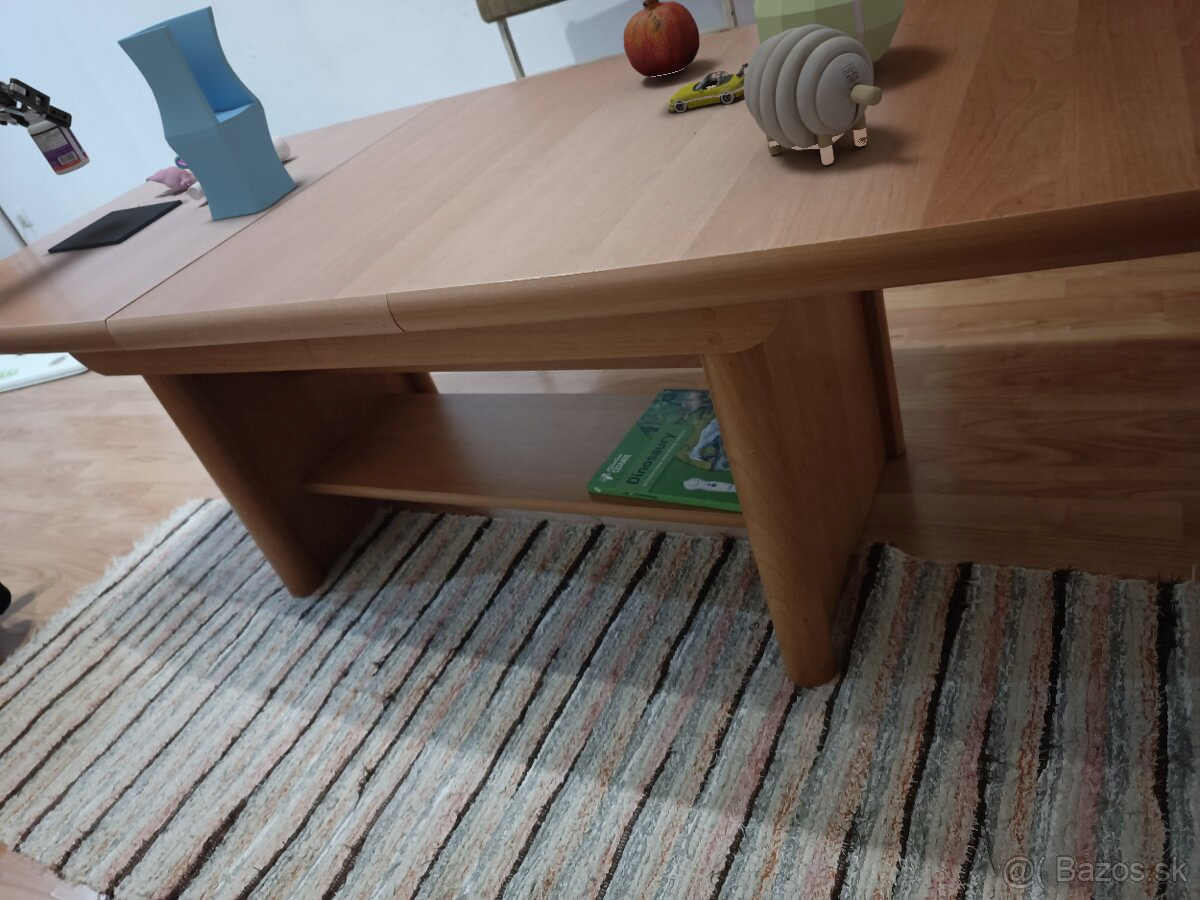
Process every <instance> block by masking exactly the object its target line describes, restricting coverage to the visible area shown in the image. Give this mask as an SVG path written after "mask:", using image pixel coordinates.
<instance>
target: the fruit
mask: <svg viewBox="0 0 1200 900" xmlns="http://www.w3.org/2000/svg"><path fill="white" fill-rule="evenodd" d="M642 6H643V9H641V10H639V11H638V12H636V13H634V14H633V15H632V16H631V18H630V19H629V20H628V21H627V23H626V25H625V27H624V30H623V36H622V37H623V49H624V53H625V55H626V57H627V59H628V61H629V64H630V66H631V67H632V68H633V69H634V70H635V71H636V72H637V73H638V74H640V75H642V76H644V77H646V76H647V78H653V79H658V78H668V77H672V76H674V75H677V74H679V73H681V72H682V71H684V70H685V69H686V68H687V67H688V66H689V65H691V64H692V62H694V60H695V59H696V56H697V55H698V52H699V49H700V32H699V27H698V25H697V23H696V20H695V18H694V17H693V15H692V14H691V12H690V10H689V9H688V8H687V7H686V6H684V5H683V4H681V3H679V2H677V1H660V0H644V1H643V2H642ZM686 66H687V67H686ZM685 67H686V68H685ZM683 68H685V69H683ZM681 69H683V70H681ZM679 70H681V71H679ZM675 71H678V72H675ZM672 72H675V73H672ZM668 73H671V74H668ZM663 74H667V75H663ZM657 75H662V76H657ZM651 76H656V77H651Z"/></svg>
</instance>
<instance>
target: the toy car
mask: <svg viewBox="0 0 1200 900" xmlns="http://www.w3.org/2000/svg"><path fill="white" fill-rule="evenodd" d="M748 64H749V62H746V63H744V64H741V67H740V70H739V72H737V73H732V74H729V73H728V72H727V71H725V70H720V71H715V72H711V73H708V74H707V75H706V76H705V77H704V78H703V79H702V80H701V81H696V82H692V83H689V84H686V85H684V86H683V87H681V88H680V89H678V90H677V91H676V92H674V94H673V95H671V97H670V98H669V100H668V102H670V103H671V104H674V103H675V104H676V103H681V102H684V101H688V100H690V99H694V98H699V97H704V96H710V95H711V96H712V95H717V94H722V93H725V94H726V93H727V92H731V91H734V90H736V89H738V88H741V87H743V86H744V80H741V79H740V78H741V77H743V76H745V73H744V72H745V69H747V66H748ZM726 74H727V75H726ZM713 75H715V76H713ZM712 85H716V87H714V88H710V89H707V88H706V87H708V86H712ZM741 99H745V97H744V89H743V90H741V91H739V92H736V93H733V94H732V95H731V94H728V95H723V96H720V97H712V98H707V99H702V100H696V101H692V102H688V103H681V104H677V105H671V104H669V103H668V102H667V104H668V105H669V108H668V110H667V112H668V113H671V114H673V113H675V112H677V113H684V112H685V111H686V110H687V109H688V110H690V109H692V108H693V109H694V108H698V107H703V106H709V105H712V104H713V105H714V104H718V103H722V102H723V104H726V105H728V104H731V103H732V102H733V101H734V100H741Z"/></svg>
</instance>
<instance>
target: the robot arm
mask: <svg viewBox="0 0 1200 900" xmlns="http://www.w3.org/2000/svg"><path fill="white" fill-rule="evenodd" d="M18 103H20V107H18ZM28 107H30V108H32V109H29V108H28ZM33 109H34V110H33ZM26 114H29V115H33V116H36V117H39V118H43V119H45V120H47V121H49V122H52V123H54V124H56V125H59V126H61V127H63V128H70V129H71V127H72V121H73V115H72V114H71V113H70V112H67V111H65V110H63V109H61V108H58V107H56V106H53V105H51V96H49V95H47V94H46V93H44V92H42V91H40V90H38V89H36V88H34V87H32V86H31V85H29V84H27V83H26V82H23V81H22V80H20V79H18V78H15V77H10V78H9V83H6V82H5V81H3V80H0V125H1V126H4V127H7V126H8V125H9V124H10V125H12V126H17V127H18V126H21V127H23V128H26V129H27V128H28V126H29V125H30V123H29V121H26V119H25V118H24V117H23V116H25V115H26Z"/></svg>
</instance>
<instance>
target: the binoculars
mask: <svg viewBox="0 0 1200 900" xmlns="http://www.w3.org/2000/svg"><path fill="white" fill-rule="evenodd" d="M270 136H271V139H272V142H273V145H274V147H275V150H276V152H277V154H278V156H279V158H280V160H281V161H284V160H285V161H286V160H287V159H289V157H290V156H291V148H290V146H289V143H288V142H287V141H286V140H285V139H284V137H282V136H280V135H276V134H274V135H270ZM187 194H188V196H189V197H190V198H191V199H192V200H194V201H200V200H202V199H203V198H204V197H205V194H204V191H203V189H202V187H201V185H200V183H199V182H198V180H197V182H196V183H194V184H193V185H190V186H188V188H187ZM205 198H206V197H205Z"/></svg>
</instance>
